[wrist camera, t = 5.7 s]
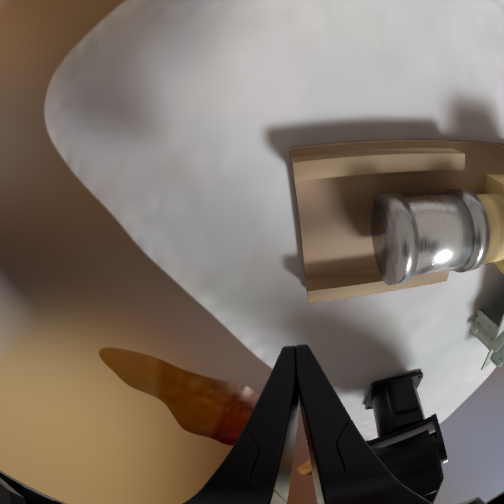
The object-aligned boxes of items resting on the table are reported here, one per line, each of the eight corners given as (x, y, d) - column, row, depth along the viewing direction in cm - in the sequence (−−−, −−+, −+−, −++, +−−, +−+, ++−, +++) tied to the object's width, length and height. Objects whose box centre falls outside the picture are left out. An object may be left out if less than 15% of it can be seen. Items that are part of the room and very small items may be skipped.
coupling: (443, 244, 17) (477, 286, 12) (369, 254, 17) (393, 304, 13) (451, 177, 14) (497, 209, 10) (370, 181, 15) (404, 218, 11)
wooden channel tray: (497, 257, 17) (540, 310, 11) (306, 288, 20) (315, 371, 14) (515, 145, 12) (580, 180, 6) (289, 147, 15) (302, 188, 9)
